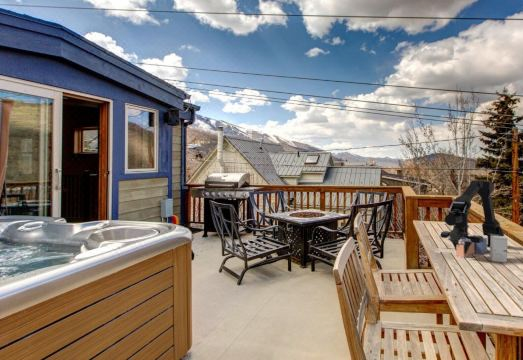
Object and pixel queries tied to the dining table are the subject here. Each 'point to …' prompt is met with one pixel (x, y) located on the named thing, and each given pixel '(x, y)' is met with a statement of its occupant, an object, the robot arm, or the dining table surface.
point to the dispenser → (479, 246)
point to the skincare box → (498, 248)
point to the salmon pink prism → (460, 250)
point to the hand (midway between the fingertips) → (461, 253)
